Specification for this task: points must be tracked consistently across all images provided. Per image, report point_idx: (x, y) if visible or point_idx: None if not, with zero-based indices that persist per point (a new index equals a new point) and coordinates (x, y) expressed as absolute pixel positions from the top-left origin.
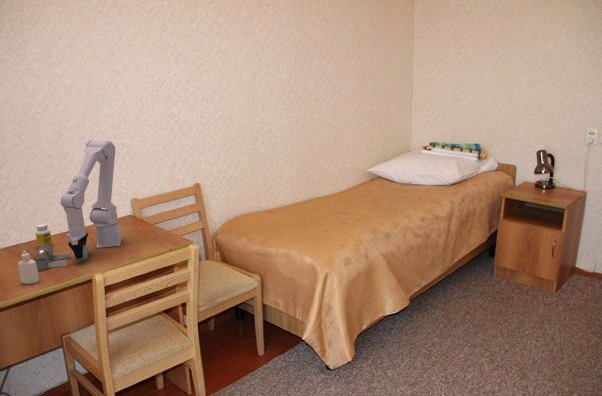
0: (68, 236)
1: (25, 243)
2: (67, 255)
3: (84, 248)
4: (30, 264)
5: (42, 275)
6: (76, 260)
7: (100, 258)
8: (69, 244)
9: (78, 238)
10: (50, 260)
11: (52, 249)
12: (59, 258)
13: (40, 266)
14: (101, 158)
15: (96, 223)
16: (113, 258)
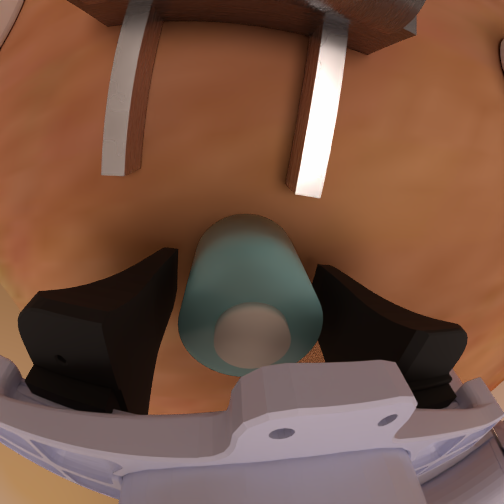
0: (231, 407)
1: None
2: (297, 159)
3: (204, 358)
4: None
5: (39, 40)
6: (211, 227)
7: (194, 361)
8: (19, 320)
9: (45, 463)
10: (266, 20)
11: (377, 26)
12: (303, 88)
13: None
14: None
15: (464, 454)
16: (174, 400)
